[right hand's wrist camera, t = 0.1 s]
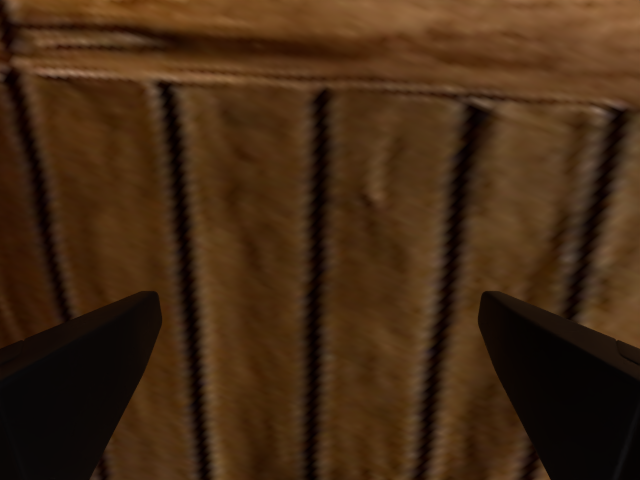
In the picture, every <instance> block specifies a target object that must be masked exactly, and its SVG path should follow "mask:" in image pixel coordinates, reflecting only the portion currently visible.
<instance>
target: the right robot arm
mask: <svg viewBox="0 0 640 480" xmlns="http://www.w3.org/2000/svg"><path fill="white" fill-rule="evenodd" d="M161 325H162V314H161V308H160V301H159V296H158V294H157V292H155V291H141V292H138V293H136V294H133V295H131V296H128V297H126V298H123V299H121V300H119V301H116V302H114V303H111V304H109V305H106V306H104V307H102V308H99V309H97V310H94V311H92V312H89V313H87V314H84V315H82V316H80V317H77V318H75V319H72V320H70V321H67V322H65V323H62V324H60V325H58V326H55V327H53V328H50V329H48V330H45V331H43V332H40V333H38V334H36V335H33V336H31V337H28V338H26V339H24V341H23V340H21V341H18V342H16V343H13V344H11V345H8V346H6V347H3V348H1V349H0V480H89V479H90V477H91V475H92V473H93V471H94V469H95V468H96V466H97V464H98V462H99V460H100V458H101V456H102V454H103V452H104V450H105V448H106V446H107V444H108V442H109V440H110V438H111V436H112V434H113V432H114V430H115V428H116V426H117V424H118V422H119V421H120V419H121V417H122V415H123V413H124V411H125V409H126V407H127V405H128V403H129V401H130V399H131V397H132V395H133V393H134V391H135V389H136V387H137V385H138V383H139V381H140V379H141V377H142V375H143V373H144V371H145V369H146V366H147V364H148V361H149V358H150V356H151V353H152V350H153V347H154V345H155V342H156V339H157V336H158V334H159V331H160V328H161ZM478 325H479V328H480V331H481V334H482V336H483V339H484V342H485V345H486V347H487V350H488V353H489V356H490V358H491V361H492V364H493V366H494V369H495V371H496V373H497V375H498V377H499V379H500V381H501V383H502V385H503V387H504V389H505V391H506V393H507V395H508V397H509V399H510V401H511V403H512V405H513V407H514V409H515V411H516V413H517V415H518V417H519V419H520V421H521V422H522V424H523V426H524V428H525V430H526V432H527V434H528V436H529V438H530V440H531V442H532V444H533V446H534V448H535V450H536V452H537V454H538V456H539V458H540V460H541V462H542V464H543V466H544V468H545V469H546V471H547V473H548V475H549V477H550V479H551V480H640V349H639V348H637V347H634V346H632V345H629V344H627V343H624V342H622V341H619V340H617V341H616V339H614V338H612V337H609V336H607V335H604V334H602V333H600V332H597V331H595V330H592V329H590V328H587V327H585V326H582V325H580V324H578V323H575V322H573V321H570V320H568V319H565V318H563V317H560V316H558V315H556V314H553V313H551V312H548V311H546V310H543V309H541V308H538V307H536V306H534V305H531V304H529V303H526V302H524V301H521V300H519V299H517V298H514V297H512V296H509V295H507V294H504V293H502V292H499V291H485V292H483V294H482V296H481V301H480V308H479V314H478Z"/></svg>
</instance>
